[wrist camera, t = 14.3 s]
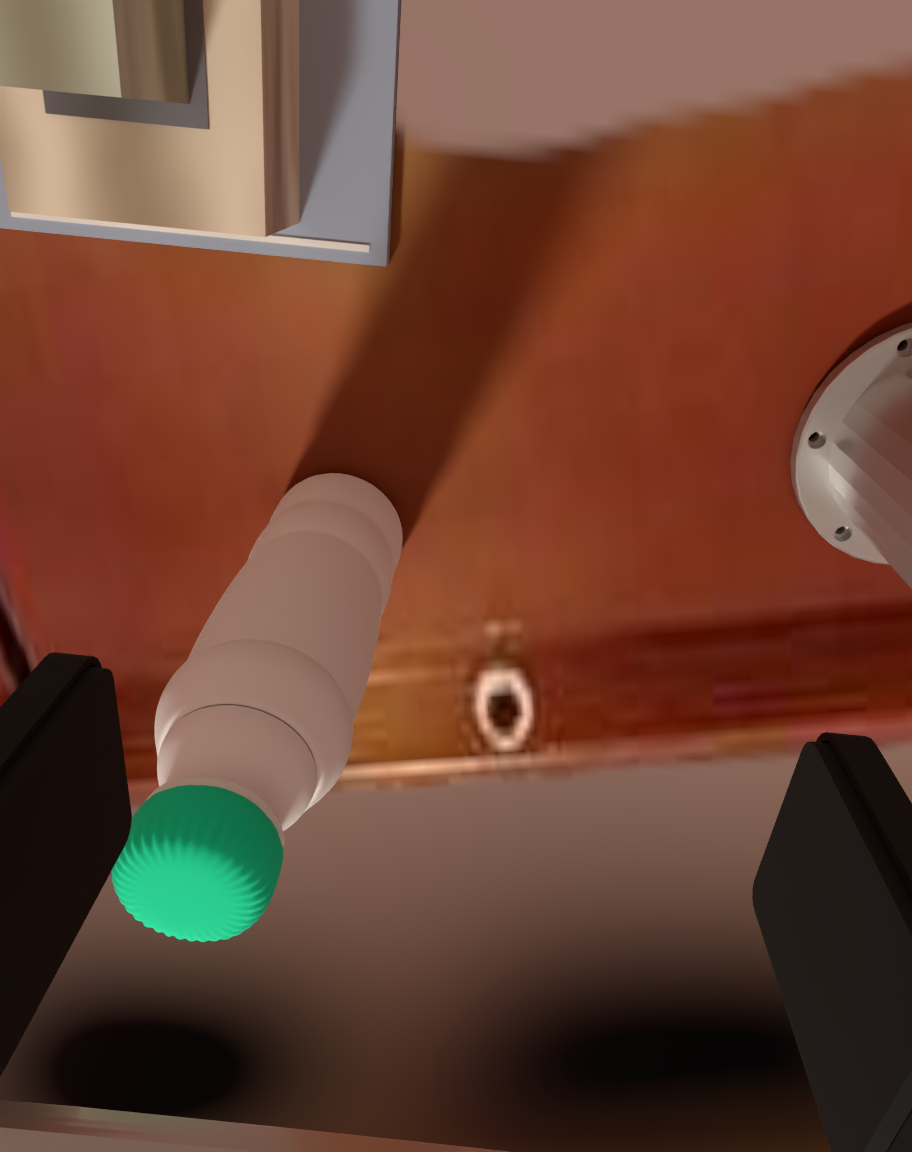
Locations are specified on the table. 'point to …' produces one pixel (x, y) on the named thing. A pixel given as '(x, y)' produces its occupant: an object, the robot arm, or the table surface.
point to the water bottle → (261, 711)
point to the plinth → (173, 135)
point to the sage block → (96, 47)
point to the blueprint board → (310, 147)
